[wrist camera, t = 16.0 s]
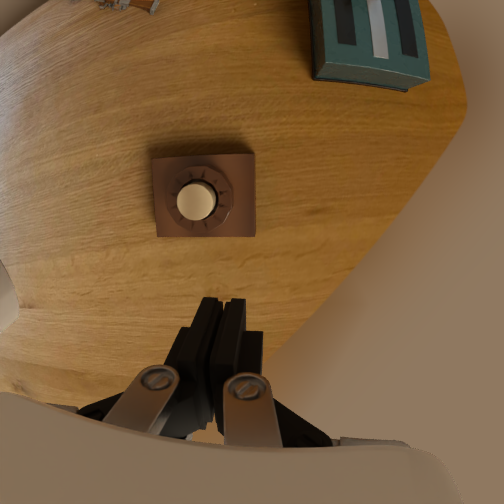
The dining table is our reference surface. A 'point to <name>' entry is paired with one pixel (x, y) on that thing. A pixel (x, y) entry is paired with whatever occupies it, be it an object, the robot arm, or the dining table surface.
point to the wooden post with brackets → (130, 4)
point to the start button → (196, 200)
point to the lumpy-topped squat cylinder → (7, 300)
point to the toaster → (368, 43)
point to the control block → (224, 185)
